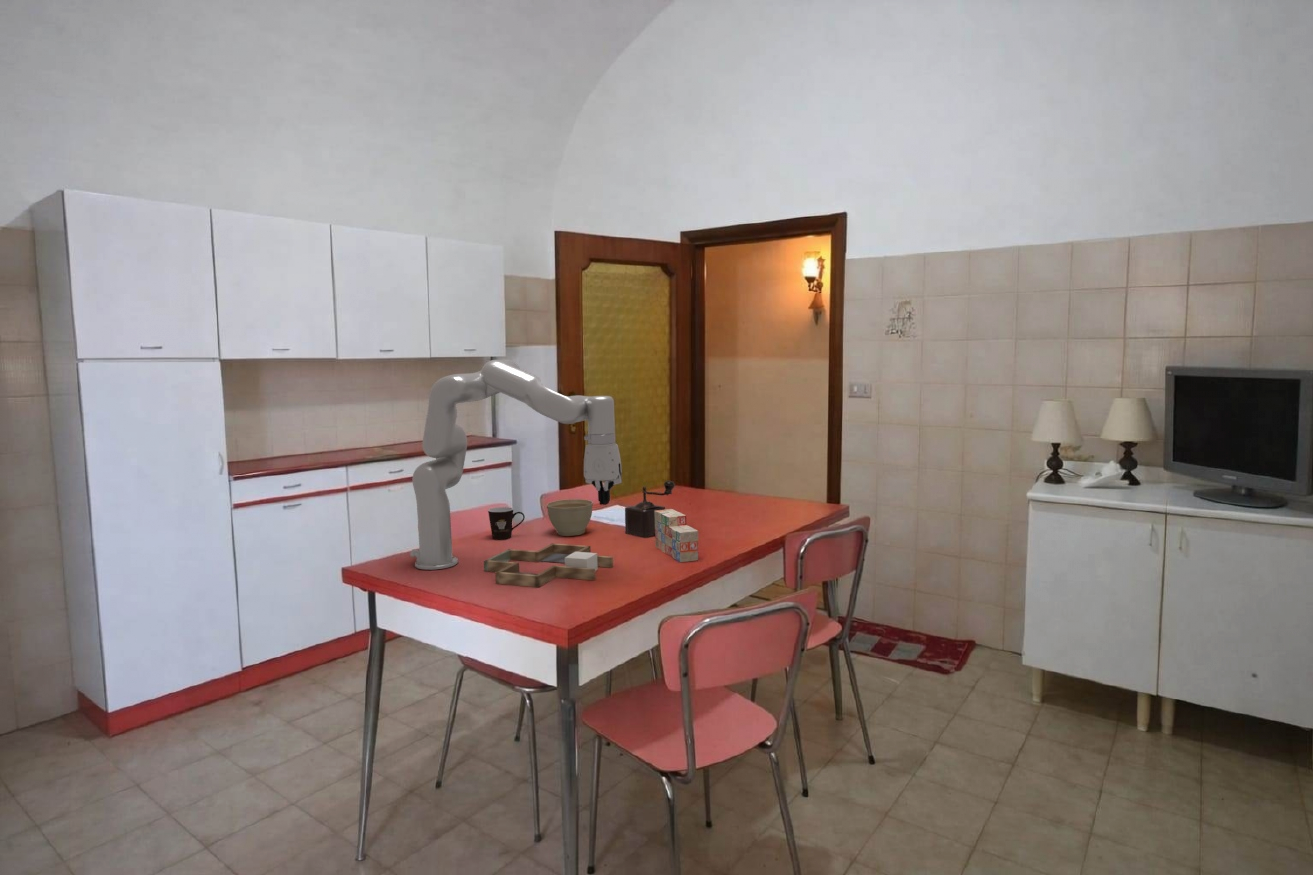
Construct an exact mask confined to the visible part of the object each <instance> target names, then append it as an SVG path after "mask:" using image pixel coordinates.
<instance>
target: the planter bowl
mask: <svg viewBox="0 0 1313 875" xmlns="http://www.w3.org/2000/svg"><path fill="white" fill-rule="evenodd" d="M593 502H594V501H592V500H589V499H584V498H583V499H582V498H575V499H574V498H572V499H560V500H559V499H558V500H554V501H550V502H548V503H547V504H546V509H547V516H548V519H549V521H550V523H551V525H552V526H553V528H554V529H555V530H556V532H557V535H559V536H562V537H563V536H564V537H569V536H570V537H571V536H573V537H574V536H580V535H583V534H584V533H585V532H586V528H588V525H589V524H590V521H591V519H592V516H593V504H594V503H593Z"/></svg>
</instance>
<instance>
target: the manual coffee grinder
mask: <svg viewBox="0 0 1313 875" xmlns="http://www.w3.org/2000/svg"><path fill="white" fill-rule="evenodd" d="M663 486H664V489H665V490H664V492H657V491H655V492H654V491H647V487H646V486H643V487H642V493H643V494H642V496H643V498H642V499H643V500H642V501H641V502H638V503H637V504H635V505H631V506H626V507H624V523H625V524H624V525H625V527H624V528H625V530H624V533H625V534H627V535H629V536H634V537H639V538H644V539H646V538H651V537H655V513H654V511H657V510H666V507H665V506H662V505H656V504H655V503H653V502H651V501H647V495H652V496H653V495H654V496H655V495H656V496H669V495H672V494H673V492H672V491H673V489H675V486H676V484H675V483H674V481H671V480H666V481H664V483H663Z"/></svg>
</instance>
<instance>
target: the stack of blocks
mask: <svg viewBox="0 0 1313 875" xmlns="http://www.w3.org/2000/svg"><path fill="white" fill-rule="evenodd" d="M654 513H655V536H654V537H655V539H654V542H655V548H657V549H658V550H659V551H661V552H662V553H664V554H666V555H668V556H669V557H671V558H673V559H674V560H676V561H677V562H679V563H685V562H695V561H698V560H699V530H697V529H696V528H694V527H691V526H689V525H687V515H686V514H683V513H682V512H679V511H677V510H675V509H673V508H668V509H666V508H665V510H657V511H654Z"/></svg>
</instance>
